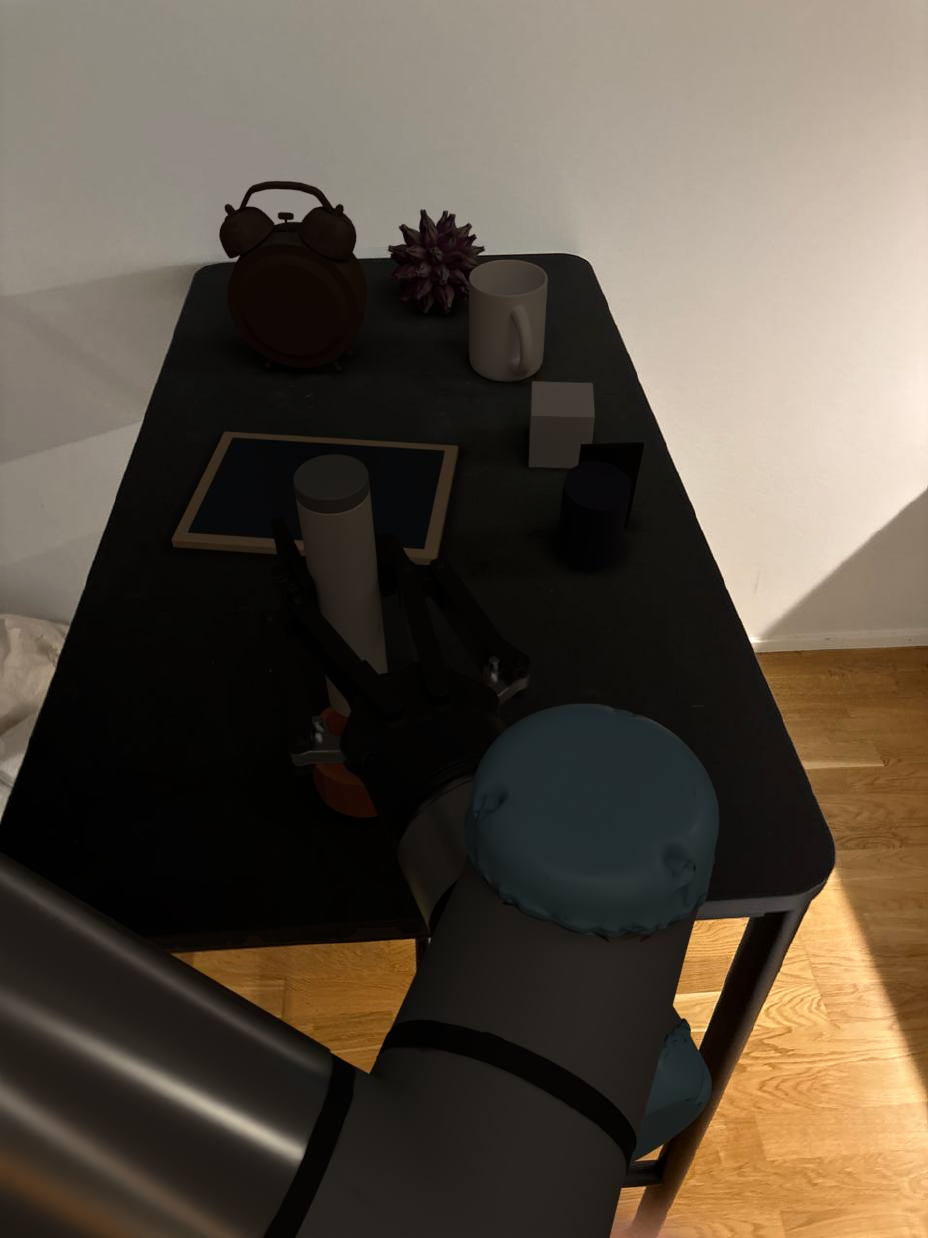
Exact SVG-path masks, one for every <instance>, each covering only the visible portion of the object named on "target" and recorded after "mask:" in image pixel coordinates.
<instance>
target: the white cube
mask: <svg viewBox="0 0 928 1238" xmlns="http://www.w3.org/2000/svg"><path fill="white" fill-rule="evenodd" d="M530 395H531V396H530V397H531V398H530V415H529V416H530V417H529V436H528V439H529V441H528V468H547V469H548V468H550V469H572V468H573V467H575V466H577V465H578V461H579V454H580V446H581V444H593V438H594V429H595V418H596V415H595V398H594V397H595V395H594V383H593V382H574V381H573V382H572V381H571V382H568V381H535V380H534V381H533V380H531V393H530Z"/></svg>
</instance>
